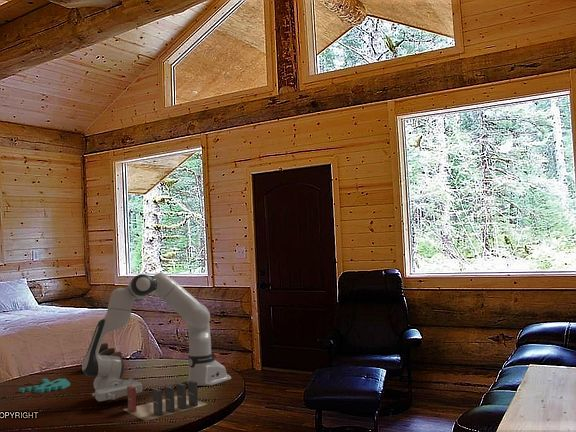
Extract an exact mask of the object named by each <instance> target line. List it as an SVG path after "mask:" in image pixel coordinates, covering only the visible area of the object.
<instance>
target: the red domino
mask: <svg viewBox="0 0 576 432" xmlns="http://www.w3.org/2000/svg"><path fill="white" fill-rule="evenodd" d="M127 394H128V395H127V408H128V410H129V411H131V412H137V410H136V406H137V394H136V387H133V386H127Z"/></svg>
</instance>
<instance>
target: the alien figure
mask: <svg viewBox="0 0 576 432" xmlns="http://www.w3.org/2000/svg"><path fill="white" fill-rule="evenodd" d="M40 381H41V384H39V385H37V384H36V385H33V386H27V387H20V388H19V389H18V393H19V392H23V393H25V392H31V391H33V392H34V393H35V394H36V393H37V394H39V393H40V394H41V393H42V394H43V393H45V392H47V393H48V392H51V391H57V390H64V389H66V388H69V387H70V386H71V382H70V381H69V380H68V379H67V378H57V379H55V380H52V381H50V379H48V378H42V379H41V380H40Z"/></svg>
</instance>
